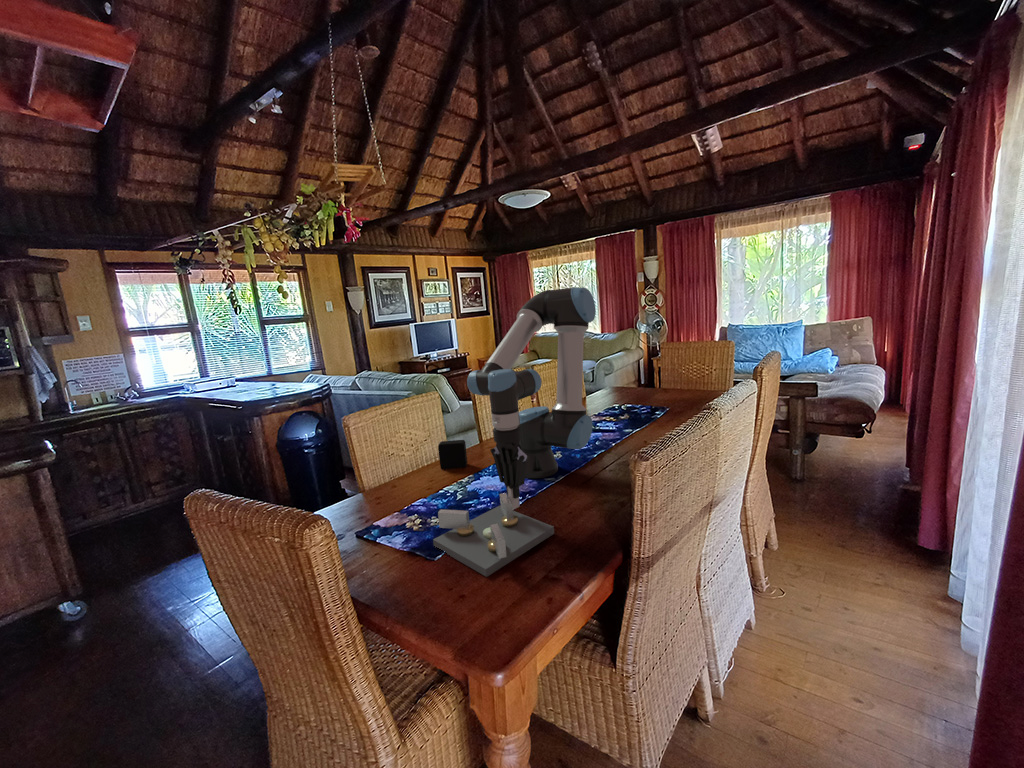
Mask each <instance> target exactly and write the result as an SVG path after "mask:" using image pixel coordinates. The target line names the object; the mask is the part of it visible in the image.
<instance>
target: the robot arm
mask: <svg viewBox="0 0 1024 768" xmlns="http://www.w3.org/2000/svg"><path fill="white" fill-rule="evenodd" d="M596 315H597V314H596V303H595V300H594V297H593V294H592V292H591V291H590V290H589V289H588V288H586V287H581V286H579V287H576V286H575V287H574V286H573V287H566V288H558V289H547V290H544V291H541V292H539V293H537V294H535V295H534V296H533V297H530V299H529V300H528V301H527V302H526V303H524V305H523V306H522V307H521V308H520V309H519V311H518V312H517V314H516V320H515V321H514V322H513V324H512V326H511V327H510V328H509V330H508V332H506V334H505V335H504V337H503V339H502V340H501V342H500V343H499V344H498V346H497V347H496V348H495V350H494V351H493V353H492V354H491V356H490V357H489V359H488V360H487V361H486V363H485V365H484V366H483V367H482V369H477V370H476V369H475V370H472V371H470V373H468V376H467V379H466V385H467V388H468V391H469V392H470V393H471V394H473V395H479V396H489V403H490V412H491V413H490V414H491V422H492V423H491V424H492V427H493V429H492V433H493V434H492V436H493V441H494V442H495V443H496V444H495V446H494V447H493V448H490V453H491V455H492V457H493V459H494V464H495V467H496V470H497V475H498V478H499V481H500V483H503V484H504V486H505V487H506V488H505V489H506V494H507V496H508V498H509V500H510V501H511V503H512V507H513V511H515V509H517V508H520V496H521V494H520V487H522V486H524V484H525V481H526V478H527V479H543V478H547V477H550V476H553V475H554V474H557V472H558V470H559V466H558V461H557V460H556V457H555V454H554V451H553V450H552V447H556V448H557V447H559V448H565V449H568V450H572V449H573V450H581V449H583V448H585V447H586V446H587V444H589V443H588V442H589V441H590V439H591V436H592V433H593V418H592V417H591V416H590V415H589V414H587V408H586V407H585V406H584V405H583V378H584V376H583V374H584V373H583V372H584V370H583V369H584V336H585V333H586V331H588V329H589V323H592V322H593V321H594V320H595V318H596ZM546 325H553V329H554V330H555V331H556V332H557V365H556V366H557V367H556V368H557V369H556V370H557V371H556V372H557V373H556V375H557V376H556V403H555V404H554V406H552V407H551V412H550V409H549V407H548V406H545V405H544V406H542V405H541V406H534V407H529V408H525V409H522V410H521V411H520V408H519V401H520V400H522V399H525V398H528V397H531V396H533V395H534V394H536V393H538V392H539V391H540V389H541V388H542V382H543V381H542V378H541V375H540V373H539V372H538V371H536V370H535V369H532V368H528V369H526V368H525V369H522V370H519V371H518V370H514V369H512V368H513V367H514V365H515V363H516V362H517V360H518V359H519V358H520V356H521V354H522V353H523V351H524V350H525V348H526V347H527V345H528V343H529V342H530V341H531V339H532V338H533V336H534V334H535V333H537V332H539V331H541V329H542V328H543V326H546Z"/></svg>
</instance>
